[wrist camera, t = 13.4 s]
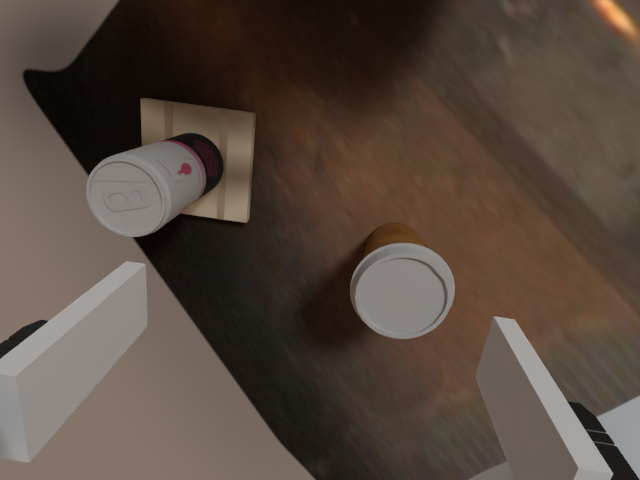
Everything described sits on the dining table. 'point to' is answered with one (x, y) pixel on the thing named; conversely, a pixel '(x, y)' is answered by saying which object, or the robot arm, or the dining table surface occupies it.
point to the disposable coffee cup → (401, 284)
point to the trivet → (230, 138)
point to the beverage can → (153, 183)
